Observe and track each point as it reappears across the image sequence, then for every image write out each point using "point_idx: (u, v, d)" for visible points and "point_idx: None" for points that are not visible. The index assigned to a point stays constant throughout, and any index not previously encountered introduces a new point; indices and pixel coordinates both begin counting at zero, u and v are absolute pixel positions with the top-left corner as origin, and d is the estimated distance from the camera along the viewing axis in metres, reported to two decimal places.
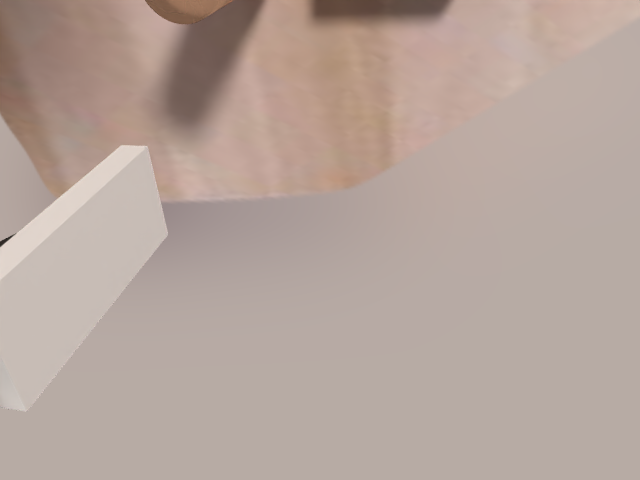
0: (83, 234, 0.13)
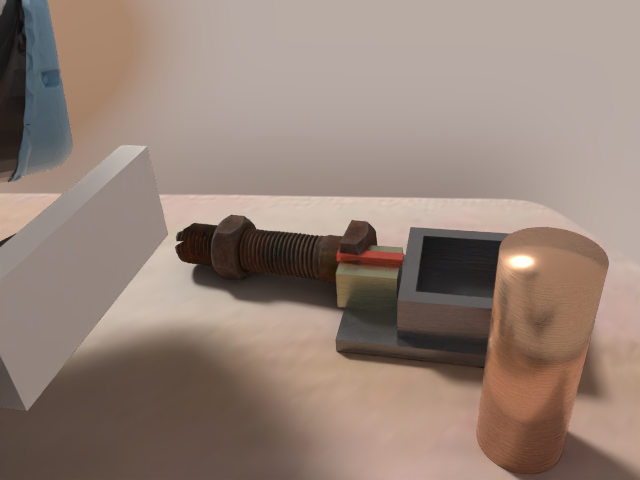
0: (83, 234, 0.13)
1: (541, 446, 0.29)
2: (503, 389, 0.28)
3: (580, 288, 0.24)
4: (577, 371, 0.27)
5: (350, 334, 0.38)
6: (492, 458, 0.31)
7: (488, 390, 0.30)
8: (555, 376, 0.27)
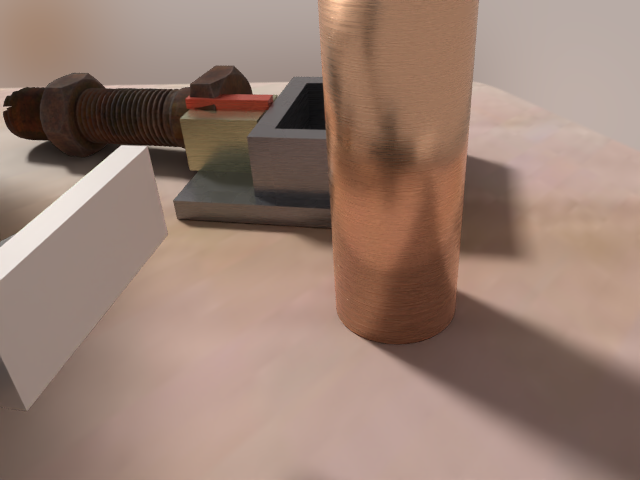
0: (83, 234, 0.13)
1: (410, 295, 0.19)
2: (345, 199, 0.18)
3: None
4: (449, 158, 0.17)
5: (194, 195, 0.29)
6: (350, 326, 0.21)
7: (332, 214, 0.20)
8: (411, 160, 0.17)
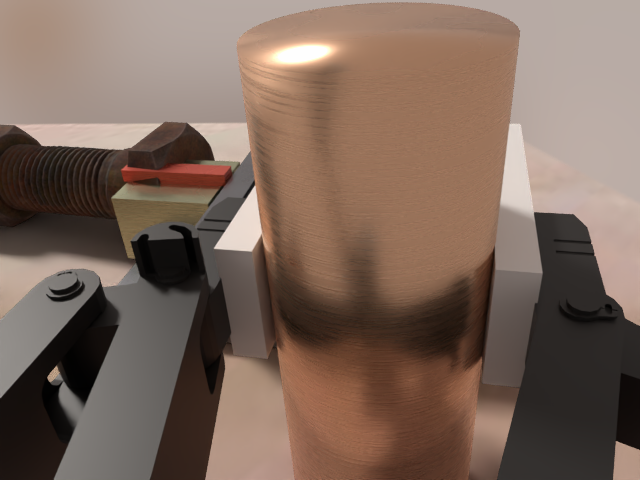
0: None
1: None
2: (298, 396, 0.12)
3: (422, 84, 0.08)
4: (460, 351, 0.11)
5: None
6: None
7: (284, 398, 0.13)
8: (398, 363, 0.10)
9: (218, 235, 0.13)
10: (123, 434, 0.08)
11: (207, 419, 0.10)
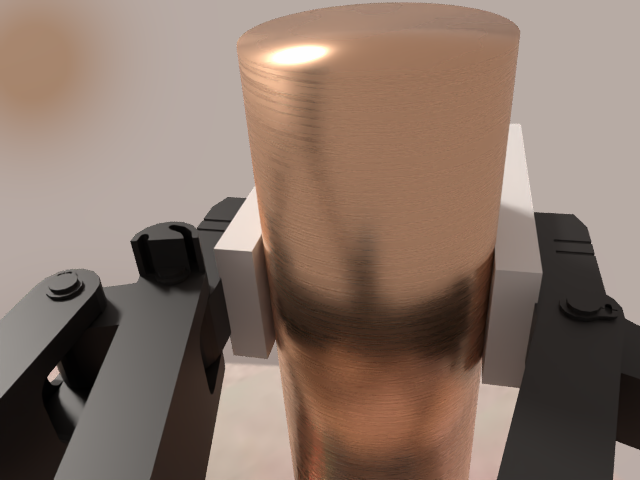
0: None
1: None
2: (298, 396, 0.12)
3: (423, 84, 0.08)
4: (460, 351, 0.11)
5: None
6: None
7: (284, 398, 0.13)
8: (398, 364, 0.10)
9: (218, 235, 0.13)
10: (123, 434, 0.08)
11: (207, 419, 0.10)
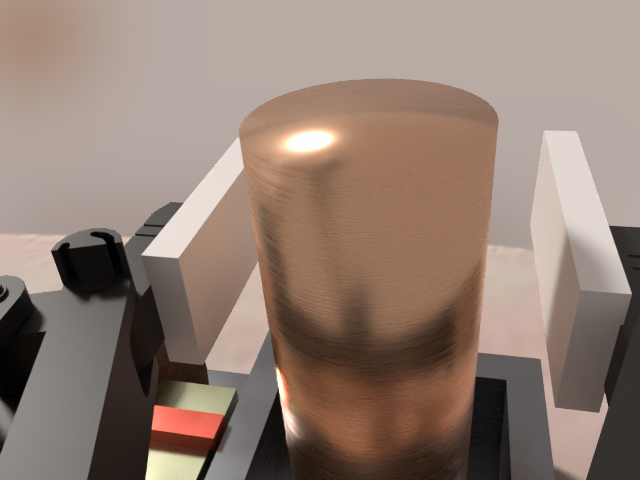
0: (238, 202, 0.14)
1: None
2: (300, 444, 0.13)
3: (407, 182, 0.09)
4: (450, 405, 0.12)
5: None
6: None
7: (287, 442, 0.14)
8: (392, 420, 0.11)
9: None
10: (57, 440, 0.08)
11: (143, 422, 0.10)
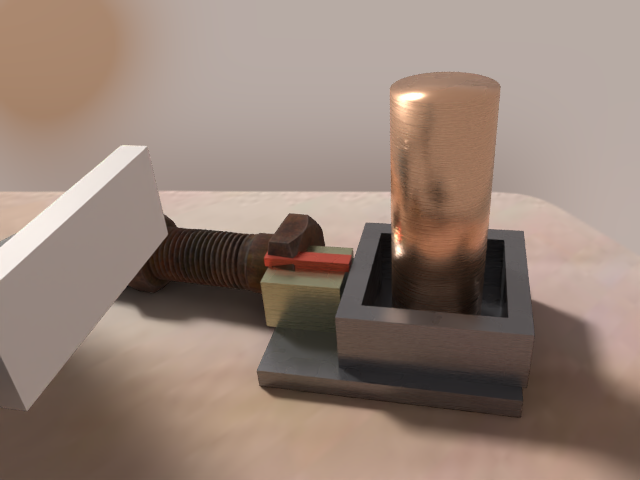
0: (83, 234, 0.13)
1: (450, 312, 0.28)
2: (405, 246, 0.27)
3: (466, 107, 0.23)
4: (478, 219, 0.26)
5: (277, 363, 0.29)
6: None
7: (393, 255, 0.28)
8: (453, 222, 0.25)
9: None
10: None
11: None
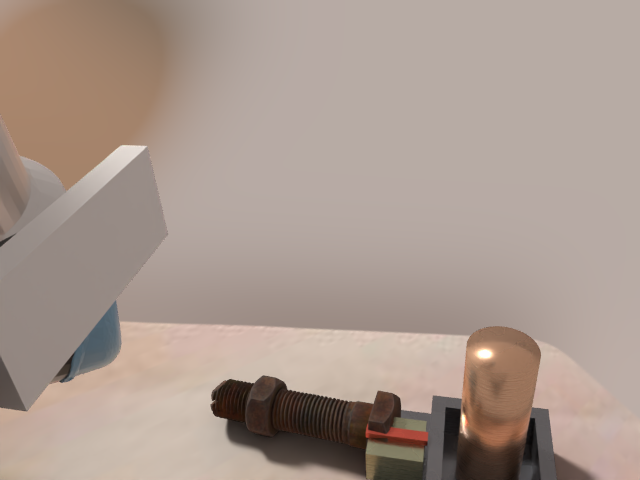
0: (83, 234, 0.13)
1: None
2: (472, 442, 0.39)
3: (521, 375, 0.35)
4: (523, 429, 0.38)
5: None
6: None
7: (462, 441, 0.41)
8: (507, 433, 0.38)
9: None
10: None
11: None
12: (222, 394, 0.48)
